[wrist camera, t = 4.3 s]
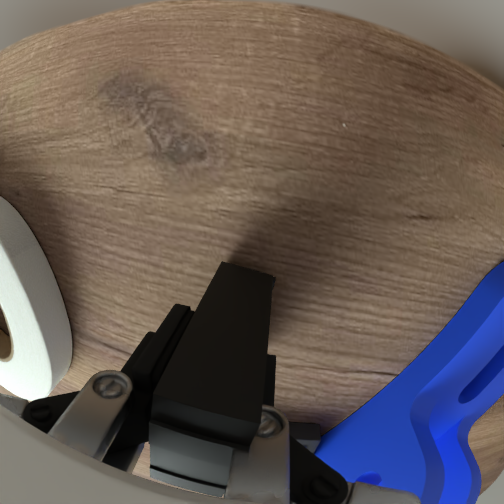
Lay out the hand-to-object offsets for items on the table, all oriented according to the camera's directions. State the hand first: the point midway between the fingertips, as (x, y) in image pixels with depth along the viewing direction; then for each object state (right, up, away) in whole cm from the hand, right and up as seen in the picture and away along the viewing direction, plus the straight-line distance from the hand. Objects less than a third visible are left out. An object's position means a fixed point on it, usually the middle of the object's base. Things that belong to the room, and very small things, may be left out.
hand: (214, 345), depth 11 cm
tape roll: (-17, 0, +4) cm, 18 cm away
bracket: (+14, -4, +3) cm, 15 cm away
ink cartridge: (+1, +1, +3) cm, 3 cm away
